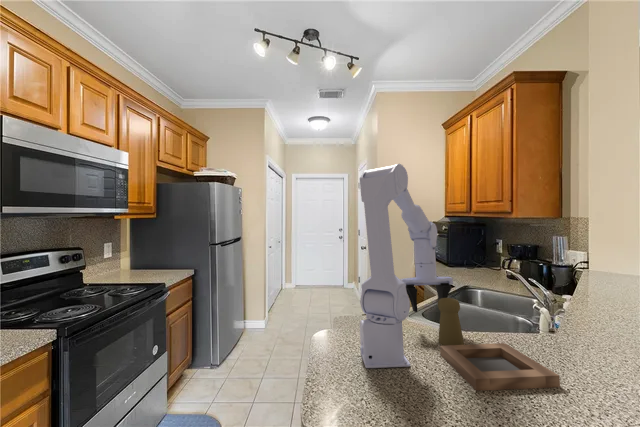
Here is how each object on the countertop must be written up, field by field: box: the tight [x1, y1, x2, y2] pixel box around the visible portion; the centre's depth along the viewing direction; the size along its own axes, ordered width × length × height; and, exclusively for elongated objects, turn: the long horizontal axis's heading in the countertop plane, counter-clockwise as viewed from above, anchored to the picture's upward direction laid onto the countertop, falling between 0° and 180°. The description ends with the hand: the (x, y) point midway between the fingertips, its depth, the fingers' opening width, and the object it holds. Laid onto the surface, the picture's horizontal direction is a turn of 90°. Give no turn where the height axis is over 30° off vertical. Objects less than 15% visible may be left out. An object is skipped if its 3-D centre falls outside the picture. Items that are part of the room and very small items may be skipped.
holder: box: [439, 342, 561, 392], centre depth 59 cm, size 15×15×2 cm
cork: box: [437, 297, 465, 346], centre depth 73 cm, size 6×6×11 cm
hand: (428, 310), depth 83 cm, fingers open, 7 cm apart
